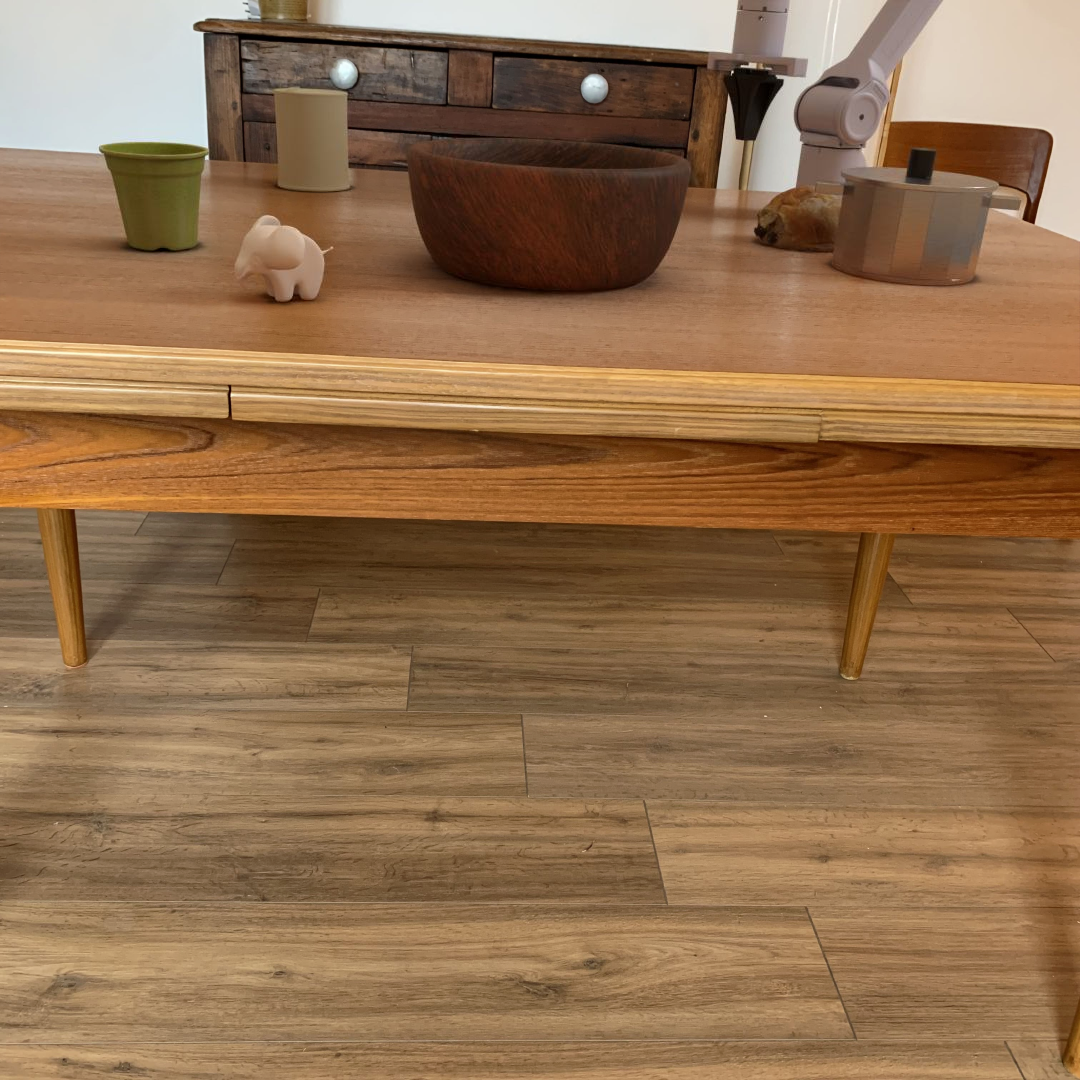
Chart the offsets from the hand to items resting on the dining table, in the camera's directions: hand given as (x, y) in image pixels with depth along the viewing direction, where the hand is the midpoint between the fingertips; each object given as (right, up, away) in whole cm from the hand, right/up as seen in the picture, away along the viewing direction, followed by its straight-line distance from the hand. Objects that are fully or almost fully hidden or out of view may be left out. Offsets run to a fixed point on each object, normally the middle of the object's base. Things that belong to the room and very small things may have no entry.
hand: (745, 140), depth 129 cm
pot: (+12, -20, -20) cm, 31 cm away
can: (-54, -1, +13) cm, 55 cm away
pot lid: (+12, -13, -23) cm, 29 cm away
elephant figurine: (-44, -28, -43) cm, 68 cm away
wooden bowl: (-24, -22, -28) cm, 43 cm away
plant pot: (-59, -20, -27) cm, 68 cm away
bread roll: (+4, -15, -8) cm, 18 cm away
